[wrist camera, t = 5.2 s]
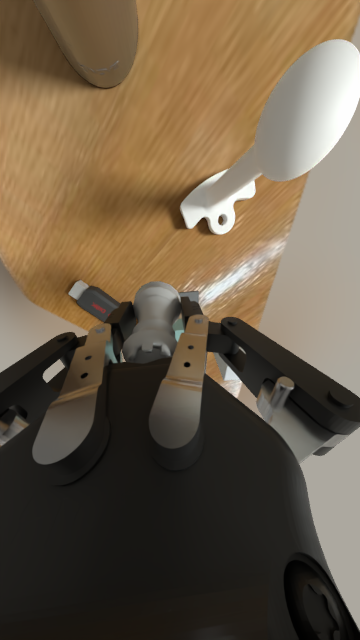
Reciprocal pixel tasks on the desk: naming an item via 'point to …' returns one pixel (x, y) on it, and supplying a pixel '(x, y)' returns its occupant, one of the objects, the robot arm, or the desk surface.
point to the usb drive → (93, 300)
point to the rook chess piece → (153, 324)
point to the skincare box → (226, 368)
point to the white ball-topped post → (286, 131)
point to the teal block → (178, 328)
